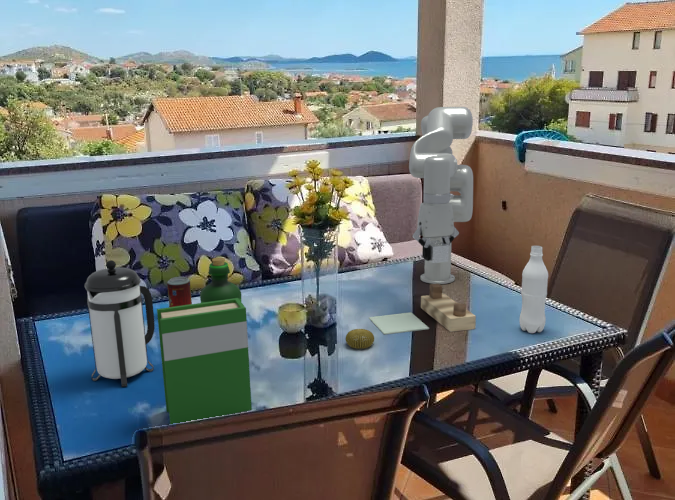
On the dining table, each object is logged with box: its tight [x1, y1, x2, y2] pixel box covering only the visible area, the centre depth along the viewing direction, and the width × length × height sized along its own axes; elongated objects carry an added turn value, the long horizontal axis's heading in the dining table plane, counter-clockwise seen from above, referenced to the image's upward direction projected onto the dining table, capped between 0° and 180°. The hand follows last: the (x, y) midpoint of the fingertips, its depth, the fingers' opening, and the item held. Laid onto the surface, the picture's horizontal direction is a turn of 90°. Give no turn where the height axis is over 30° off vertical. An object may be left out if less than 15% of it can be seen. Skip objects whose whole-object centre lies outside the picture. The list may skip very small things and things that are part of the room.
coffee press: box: [84, 260, 156, 388], centre depth 155 cm, size 17×16×30 cm
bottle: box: [199, 257, 242, 303], centre depth 160 cm, size 11×11×28 cm
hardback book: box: [156, 298, 253, 424], centre depth 136 cm, size 18×7×24 cm, turn 112°
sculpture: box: [345, 328, 375, 350], centre depth 173 cm, size 8×4×8 cm
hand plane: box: [420, 283, 477, 333], centre depth 192 cm, size 22×8×8 cm, turn 15°
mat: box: [368, 311, 430, 335], centre depth 189 cm, size 14×14×1 cm
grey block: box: [429, 240, 449, 263], centre depth 186 cm, size 7×5×5 cm
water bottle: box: [519, 245, 549, 334], centre depth 178 cm, size 7×7×25 cm
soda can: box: [166, 276, 193, 307], centre depth 197 cm, size 7×7×12 cm
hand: (435, 258), depth 187 cm, fingers closed on grey block, 5 cm apart
